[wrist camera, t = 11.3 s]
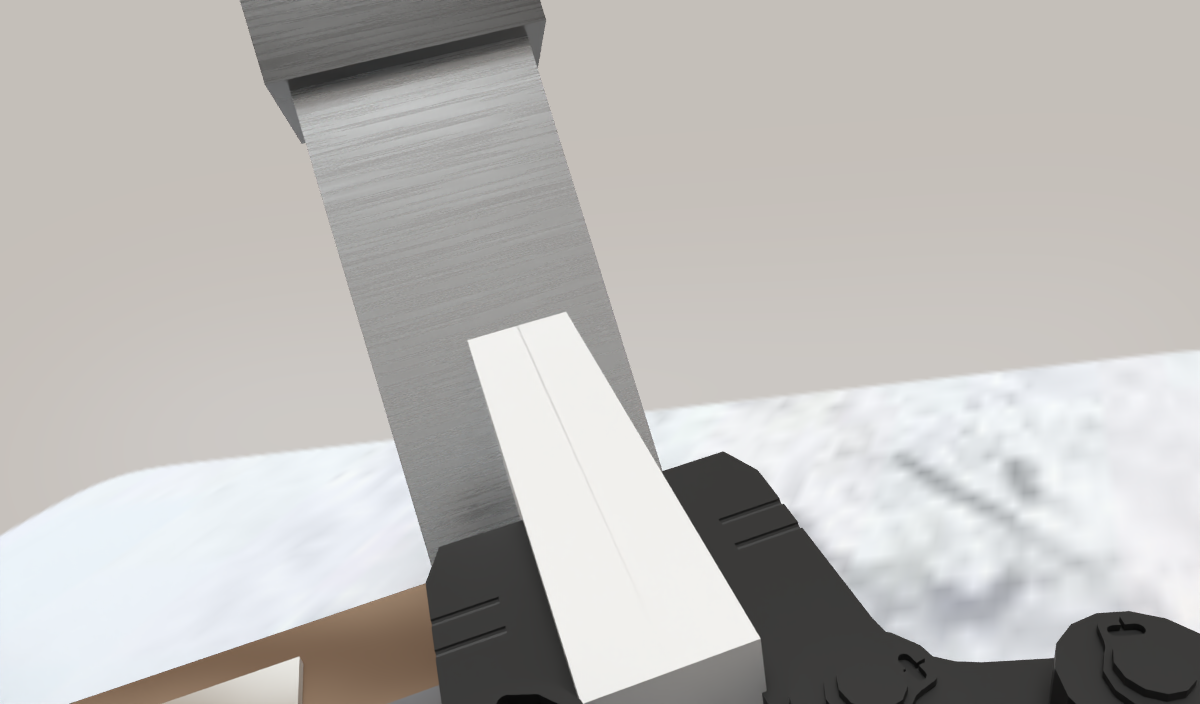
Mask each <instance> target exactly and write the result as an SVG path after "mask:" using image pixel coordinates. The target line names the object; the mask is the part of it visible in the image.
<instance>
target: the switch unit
mask: <svg viewBox="0 0 1200 704" xmlns="http://www.w3.org/2000/svg"><path fill="white" fill-rule="evenodd" d="M431 627H432V624H431V620H430V613H429V606H428V598H427V591H426V583H425V584H422V585H419V586H416V587H413V588H410V589H408V590H405V591H402V592H399V593H396V594H393V595H390V596H387V597H384V598H381V599H378V600H375V601H372V602H369V603H366V604H363V605H360V606H357V607H354V608H351V609H348V610H345V611H342V612H339V613H337V614H334V615H331V616H328V617H325V618H322V619H319V620H316V621H313V622H310V623H307V624H304V625H301V626H298V627H295V628H292V629H289V630H286V631H283V632H280V633H277V634H274V635H271V636H269V637H266V638H263V639H260V640H257V641H254V642H251V643H248V644H245V645H242V646H239V647H236V648H233V649H230V650H227V651H224V652H221V653H218V654H215V655H212V656H209V657H206V658H203V659H200V660H198V661H195V662H192V663H189V664H186V665H183V666H180V667H177V668H174V669H171V670H168V671H165V672H162V673H159V674H156V675H153V676H150V677H147V678H144V679H141V680H138V681H135V682H132V683H129V684H127V685H124V686H121V687H118V688H115V689H112V690H109V691H106V692H103V693H100V694H97V695H94V696H91V697H88V698H85V699H82V700H79V701H76V702H73V703H70V704H442V703H441V696H440V688H439V681H438V673H437V666H436V654H435V650H434V643H433V636H432V628H431Z"/></svg>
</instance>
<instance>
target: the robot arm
mask: <svg viewBox="0 0 1200 704" xmlns="http://www.w3.org/2000/svg"><path fill="white" fill-rule="evenodd" d="M467 341H468V344H469V347H470V351H471V354H472V358H473V361H474V364H475V368H476V371H477V375H478V378H479V381H480V385H481V388H482V392H483V395H484V399H485V402H486V405H487V409H488V412H489V416H490V419H491V422H492V426H493V429H494V433H495V436H496V439H497V443H498V446H499V450H500V453H501V456H502V460H503V463H504V467H505V470H506V473H507V477H508V480H509V484H510V487H511V490H512V493H513V497H514V500H515V503H516V506H517V510H518V513H519V516H520V519H521V521H517V522H514V523H511V524H508V525H505V526H502V527H499V528H496V529H493V530H490V531H487V532H484V533H481V534H478V535H475V536H471V537H468V538H465V539H462V540H459V541H456V542H453V543H450V544H447V545H444V546H441V547H439V549H438V552H437V554H436V557H435V560H434V562H433V565H432V568H431V570H430V573H429V576H428V578H427V581H426V591H427V598H428V606H429V613H430V620H431V624H432V627H431V628H432V636H433V643H434V650H435V654H436V666H437V673H438V681H439V688H440V696H441V703H442V704H1200V634H1199V633H1197V632H1195V631H1193V630H1190V629H1188V628H1186V627H1184V626H1181V625H1179V624H1177V623H1175V622H1173V621H1170V620H1168V619H1166V618H1161V617H1155V616H1150V615H1145V614H1140V613H1135V612H1130V611H1126V612H1110V613H1096V614H1094V615H1091V616H1089V617H1087V618H1085V619H1082V620H1080V621H1078V622H1075V623H1073V624H1071V625H1070V626H1069V628H1068V629H1067V630H1066V632H1065V633H1064V634H1063V635H1062V637H1061V638H1060V639H1059V641H1058V642H1057V643H1056V650H1055V657H1054V658H1050V659H1033V660H1016V661H998V662H956V661H951V660H947V659H942V658H938V657H933V656H932V655H931V654H929V653H928V652H927V651H926V650H925V649H924V648H923V647H921V646H920V645H918V644H916V643H914V642H911V641H909V640H907V639H904V638H902V637H900V636H897V635H895V634H893V633H890V632H885V631H884V630H883V629H882V628H881V627H880V626H879V625H878V624H877V622H876V621H875V620H874V619H873V618H872V617H871V616H870V615H869V613H868V612H867V611H866V609H865V608H864V607H863V606H862V604H861V603H860V602H859V600H858V599H857V598H856V597H855V595H854V594H853V593H852V591H851V590H850V589H849V588H848V586H847V585H846V584H845V582H844V581H843V580H842V578H841V577H840V576H839V575H838V573H837V572H836V571H835V569H834V568H833V567H832V566H831V564H830V563H829V562H828V560H827V559H826V558H825V557H824V555H823V554H822V553H821V551H820V550H819V549H818V547H817V546H816V545H815V544H814V542H813V541H812V540H811V538H810V537H809V536H808V535H807V533H806V532H805V531H804V529H803V528H800V527H799V525H798V522H797V520H796V519H795V518H794V516H793V515H792V514H791V513H790V511H789V510H788V509H787V507H786V506H785V505H784V504H781V502H780V499H779V497H778V496H777V494H776V493H775V492H774V491H773V489H772V488H771V487H770V485H769V484H768V483H767V482H766V480H765V479H764V478H763V476H762V475H761V474H760V473H759V471H758V470H756V469H755V468H753V467H751V466H749V465H747V464H745V463H744V462H742V461H740V460H738V459H736V458H734V457H733V456H731V455H729V454H727V453H725V452H720V453H717V454H714V455H711V456H708V457H705V458H702V459H699V460H696V461H693V462H689V463H686V464H683V465H680V466H677V467H674V468H671V469H668V470H665V471H662V472H661V470H660V469H659V467H658V465H657V464H656V462H655V460H654V459H653V457H652V455H651V454H650V452H649V450H648V449H647V447H646V445H645V444H644V442H643V440H642V438H641V437H640V435H639V433H638V432H637V430H636V428H635V427H634V425H633V423H632V422H631V420H630V418H629V417H628V415H627V413H626V412H625V410H624V408H623V407H622V405H621V403H620V401H619V400H618V398H617V396H616V395H615V393H614V391H613V390H612V388H611V386H610V385H609V383H608V381H607V380H606V378H605V376H604V375H603V373H602V371H601V370H600V368H599V366H598V365H597V363H596V361H595V359H594V358H593V356H592V354H591V353H590V351H589V349H588V348H587V346H586V344H585V343H584V341H583V339H582V338H581V336H580V334H579V333H578V331H577V329H576V328H575V326H574V324H573V322H572V321H571V319H570V317H569V316H568V314H567V312H563V313H560V314H556V315H553V316H550V317H546V318H543V319H539V320H536V321H532V322H529V323H525V324H522V325H518V326H515V327H512V328H508V329H505V330H501V331H498V332H494V333H491V334H487V335H484V336H480V337H477V338H473V339H470V340H467Z"/></svg>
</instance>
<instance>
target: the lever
mask: <svg viewBox="0 0 1200 704" xmlns="http://www.w3.org/2000/svg"><path fill="white" fill-rule="evenodd" d="M240 2H241V6H242V9H243V12H244V16H245V19H246V22H247V26H248V29H249V32H250V36H251V39H252V43H253V46H254V49H255V53H256V56H257V59H258V62H259V66H260V69H261V73H262V76H263V80H264V83H265V85H266V87H267V89H268V90H269V92H270V93H271V95H272V96H273V98H274V100H275V101H276V103H277V105H278V106H279V108H280V109H281V111H282V113H283V114H284V116H285V117H286V119H287V121H288V122H289V124H290V125H291V127H292V129H293V130H294V132H295V133H296V135H297V137H298V138H299V140H300V141H301V143H306V146H307V149H308V152H309V156H310V159H311V163H312V166H313V169H314V173H315V176H316V179H317V183H318V186H319V189H320V192H321V196H322V200H323V203H324V206H325V209H326V213H327V216H328V219H329V223H330V226H331V230H332V233H333V236H334V240H335V243H336V247H337V250H338V253H339V257H340V260H341V263H342V267H343V270H344V273H345V277H346V280H347V283H348V287H349V290H350V293H351V297H352V300H353V303H354V307H355V310H356V313H357V317H358V320H359V323H360V327H361V330H362V333H363V337H364V340H365V344H366V347H367V351H368V354H369V357H370V361H371V363H372V367H373V371H374V374H375V377H376V381H377V384H378V387H379V391H380V394H381V397H382V401H383V404H384V408H385V410H386V414H387V418H388V421H389V424H390V427H391V431H392V434H393V438H394V441H395V444H396V448H397V451H398V455H399V458H400V461H401V465H402V468H403V471H404V475H405V478H406V481H407V485H408V488H409V491H410V495H411V498H412V501H413V505H414V508H415V512H416V515H417V518H418V522H419V525H420V528H421V532H422V535H423V538H424V542H425V545H426V548H427V552H428V555H429V559H430V562H431V565H433V562H434V560H435V557H436V554H437V552H438V549H439V547H441V546H444V545H447V544H450V543H453V542H456V541H459V540H462V539H465V538H468V537H471V536H475V535H478V534H481V533H484V532H487V531H490V530H493V529H496V528H499V527H502V526H505V525H508V524H511V523H514V522H517V521H521V519H520V516H519V513H518V510H517V506H516V503H515V500H514V497H513V493H512V490H511V487H510V484H509V480H508V477H507V473H506V470H505V467H504V463H503V460H502V456H501V453H500V450H499V446H498V443H497V439H496V436H495V433H494V429H493V426H492V422H491V419H490V416H489V412H488V409H487V405H486V402H485V399H484V395H483V392H482V388H481V385H480V381H479V378H478V375H477V371H476V368H475V364H474V361H473V358H472V354H471V351H470V347H469V344H468V341H467V340H470V339H473V338H477V337H480V336H484V335H487V334H491V333H494V332H498V331H501V330H505V329H508V328H512V327H515V326H518V325H522V324H525V323H529V322H532V321H536V320H539V319H543V318H546V317H550V316H553V315H556V314H560V313H563V312H567V314H568V316H569V317H570V319H571V321H572V322H573V324H574V326H575V328H576V329H577V331H578V333H579V334H580V336H581V338H582V339H583V341H584V343H585V344H586V346H587V348H588V349H589V351H590V353H591V354H592V356H593V358H594V359H595V361H596V363H597V365H598V366H599V368H600V370H601V371H602V373H603V375H604V376H605V378H606V380H607V381H608V383H609V385H610V386H611V388H612V390H613V391H614V393H615V395H616V396H617V398H618V400H619V401H620V403H621V405H622V407H623V408H624V410H625V412H626V413H627V415H628V417H629V418H630V420H631V422H632V423H633V425H634V427H635V428H636V430H637V432H638V433H639V435H640V437H641V438H642V440H643V442H644V444H645V445H646V447H647V449H648V450H649V452H650V454H651V455H652V457H653V459H654V460H655V462H656V464H657V465H658V467H659V469H660V470H661V472H662V468H661V465H660V462H659V458H658V455H657V452H656V449H655V446H654V442H653V439H652V436H651V433H650V429H649V426H648V423H647V420H646V417H645V413H644V410H643V407H642V404H641V400H640V397H639V394H638V391H637V388H636V385H635V381H634V378H633V375H632V371H631V368H630V365H629V362H628V359H627V355H626V352H625V349H624V346H623V342H622V339H621V336H620V333H619V330H618V327H617V323H616V320H615V317H614V314H613V310H612V307H611V304H610V300H609V297H608V294H607V291H606V288H605V284H604V281H603V278H602V275H601V271H600V268H599V265H598V262H597V259H596V256H595V252H594V249H593V246H592V242H591V239H590V236H589V233H588V230H587V226H586V223H585V220H584V217H583V213H582V211H581V207H580V204H579V201H578V197H577V194H576V191H575V188H574V184H573V181H572V178H571V175H570V172H569V169H568V165H567V162H566V159H565V155H564V152H563V149H562V146H561V143H560V140H559V136H558V134H557V130H556V127H555V123H554V120H553V117H552V113H551V110H550V107H549V104H548V101H547V97H546V94H545V91H544V88H543V85H542V81H541V78H540V75H539V72H538V63H539V58H540V52H541V46H542V40H543V34H544V28H545V23H546V18H545V15H544V12H543V9H542V6H541V2H540V0H240Z"/></svg>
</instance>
